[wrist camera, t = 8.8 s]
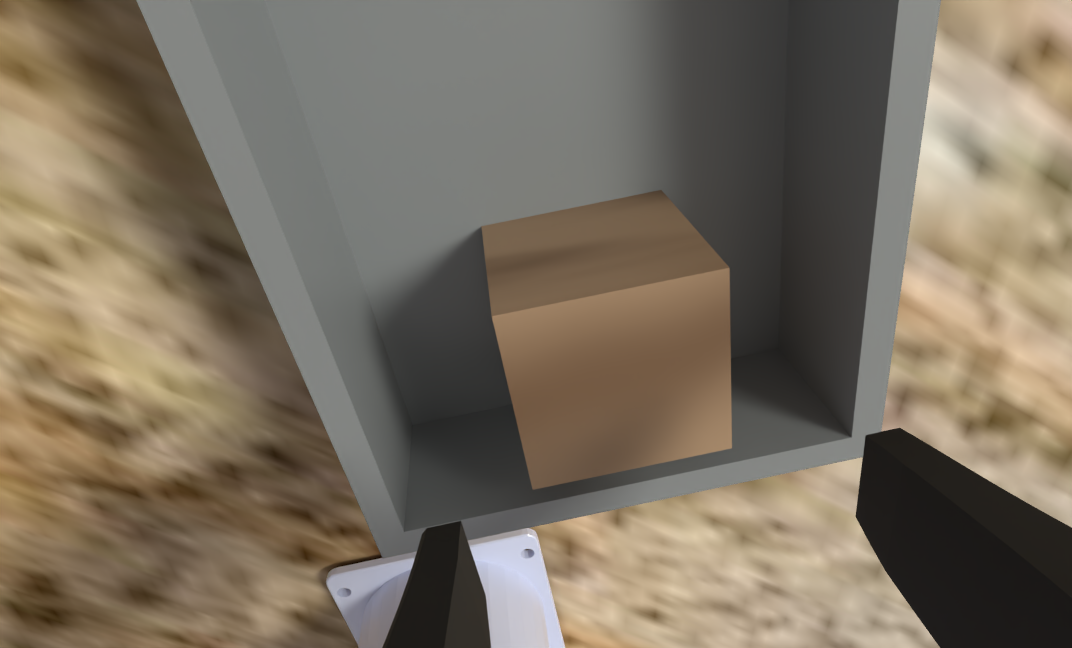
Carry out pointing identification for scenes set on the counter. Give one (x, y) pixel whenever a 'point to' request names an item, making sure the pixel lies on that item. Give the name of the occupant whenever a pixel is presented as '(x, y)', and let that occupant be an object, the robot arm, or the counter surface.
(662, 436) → the walnut cube
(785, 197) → the tote
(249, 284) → the counter surface
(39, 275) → the counter surface
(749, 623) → the counter surface
